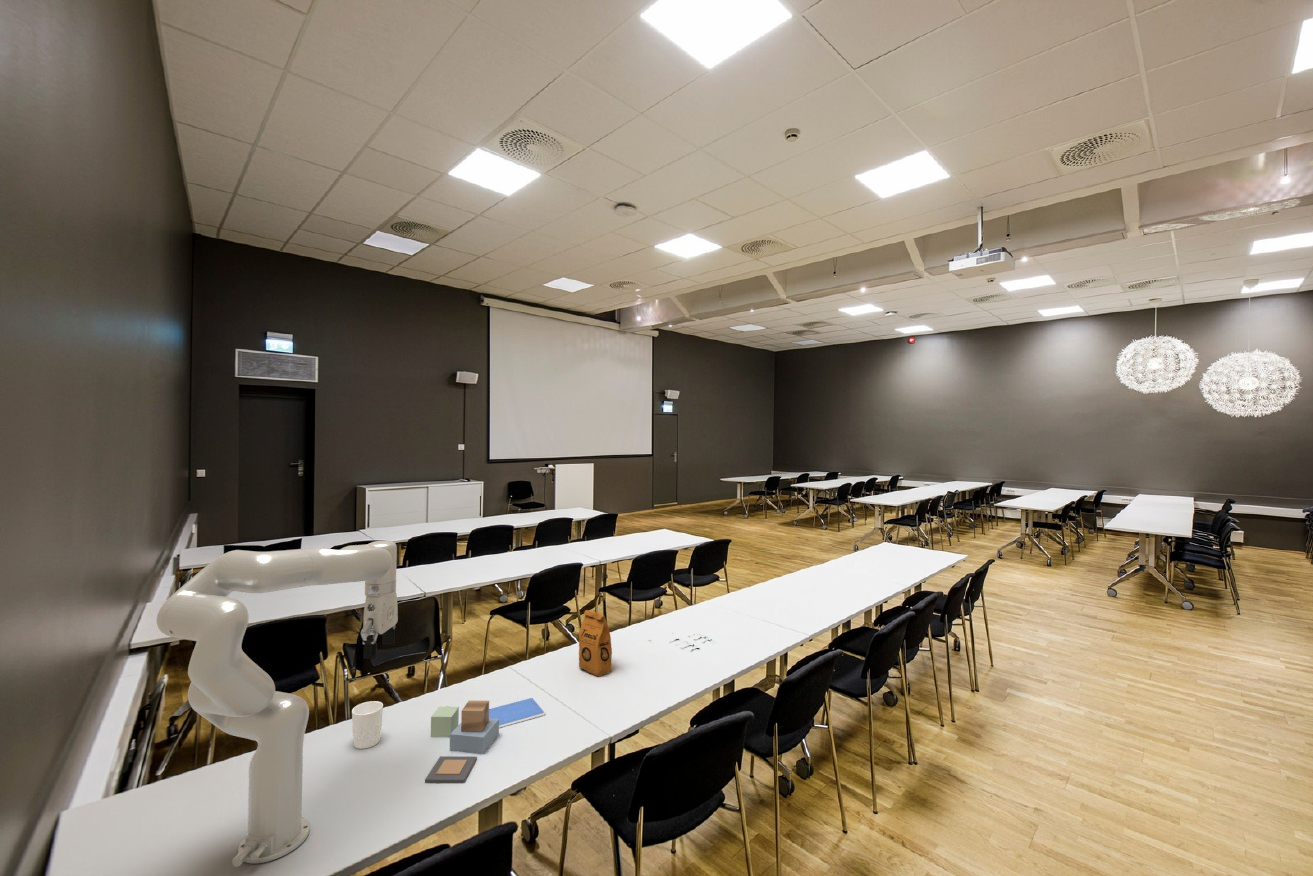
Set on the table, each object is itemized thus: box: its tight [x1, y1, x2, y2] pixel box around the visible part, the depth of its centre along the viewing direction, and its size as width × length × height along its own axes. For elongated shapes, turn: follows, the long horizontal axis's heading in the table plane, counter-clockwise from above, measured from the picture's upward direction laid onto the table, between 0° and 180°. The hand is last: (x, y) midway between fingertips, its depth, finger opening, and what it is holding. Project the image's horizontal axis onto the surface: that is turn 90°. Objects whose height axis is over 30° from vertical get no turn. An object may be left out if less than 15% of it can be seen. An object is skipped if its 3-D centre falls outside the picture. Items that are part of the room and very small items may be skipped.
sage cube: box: [430, 706, 460, 738], centre depth 160 cm, size 6×6×6 cm
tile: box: [424, 755, 478, 784], centre depth 141 cm, size 10×10×1 cm
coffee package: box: [578, 609, 613, 678], centre depth 204 cm, size 10×12×22 cm
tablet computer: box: [489, 697, 546, 729], centre depth 170 cm, size 19×13×1 cm, turn 123°
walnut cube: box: [460, 700, 490, 732], centre depth 154 cm, size 6×6×6 cm
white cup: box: [351, 700, 384, 750], centre depth 154 cm, size 8×8×10 cm
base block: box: [449, 718, 500, 755], centre depth 154 cm, size 10×10×5 cm
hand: (379, 651), depth 144 cm, fingers open, 9 cm apart
